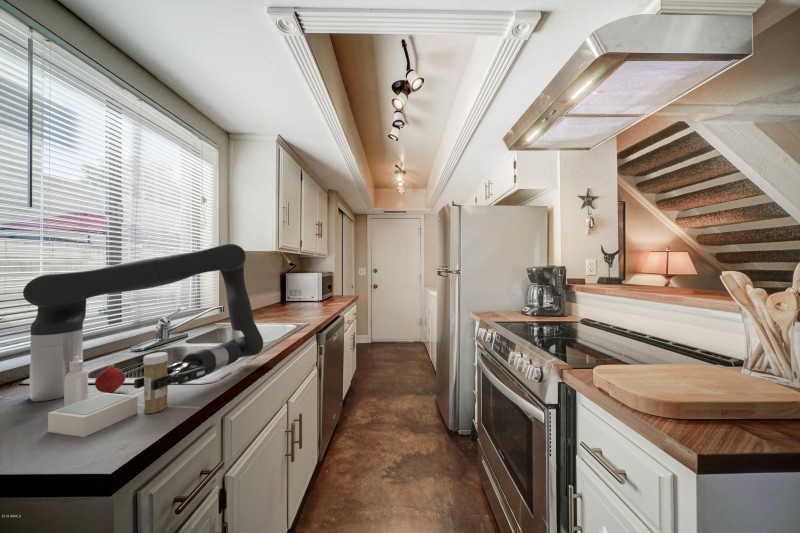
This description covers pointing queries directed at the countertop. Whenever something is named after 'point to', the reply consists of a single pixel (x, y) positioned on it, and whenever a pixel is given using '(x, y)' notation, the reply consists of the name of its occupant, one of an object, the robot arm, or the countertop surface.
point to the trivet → (92, 414)
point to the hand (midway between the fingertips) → (144, 385)
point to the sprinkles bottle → (153, 370)
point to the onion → (109, 380)
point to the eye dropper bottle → (75, 383)
